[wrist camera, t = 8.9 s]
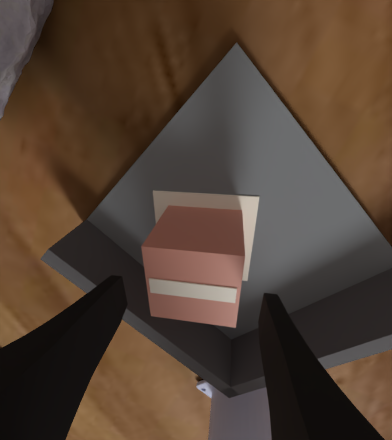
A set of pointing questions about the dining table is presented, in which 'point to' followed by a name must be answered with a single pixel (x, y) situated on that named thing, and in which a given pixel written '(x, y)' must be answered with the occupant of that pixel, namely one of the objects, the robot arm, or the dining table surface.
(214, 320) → the red cube
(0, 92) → the stone block
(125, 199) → the tray
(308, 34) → the dining table surface
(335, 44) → the dining table surface
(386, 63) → the dining table surface
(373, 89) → the dining table surface
